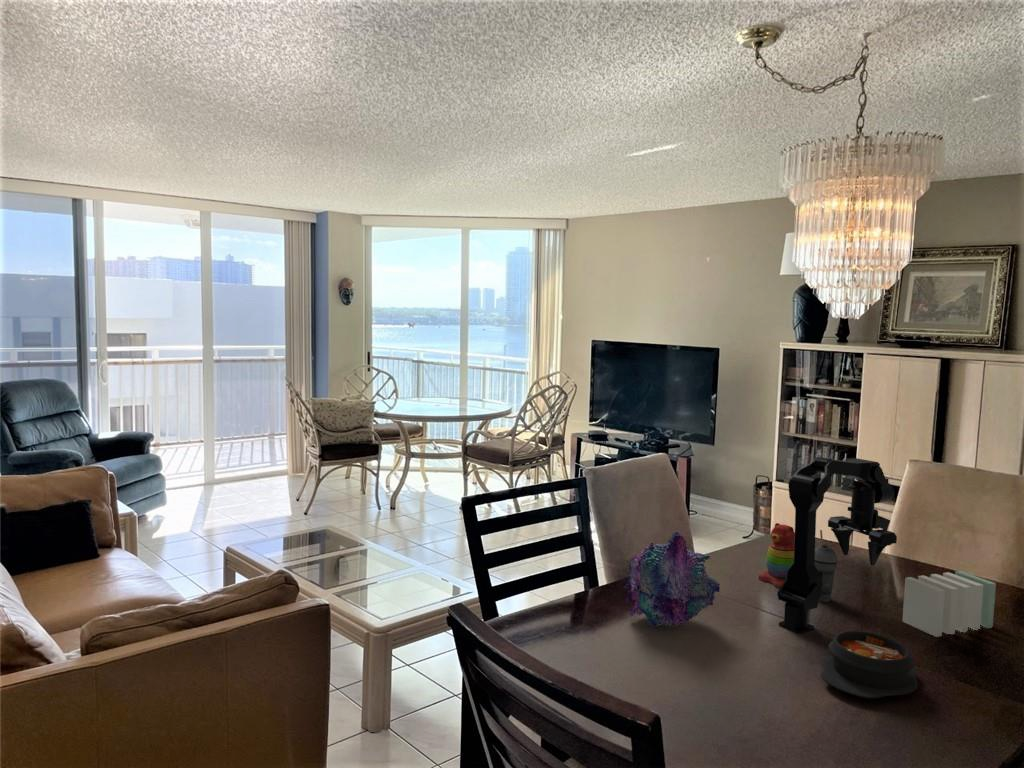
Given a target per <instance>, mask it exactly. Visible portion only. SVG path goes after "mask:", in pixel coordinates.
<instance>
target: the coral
mask: <svg viewBox="0 0 1024 768" xmlns="http://www.w3.org/2000/svg"><path fill="white" fill-rule="evenodd" d="M710 558H711V556H710V554H707V553H706V554H703V553H701V552H695V551H693V552H692V550H689V549H688V547H687V539H685V537H684V535H683V534H682V532H680V531H677V530H676V531H674V532H673V533H672V534H671V536H670V537H669V539H668V541H667V542H666V543H660V544H659V543H656V544H655V545H654V542H650V544H649V545H648V547H644V549H643V550H642V551H641V552H640V554H635V555H634V556H633V557H631V559H630V561H629V564H628V565H629V569H628V570H629V571H628V575H627V581H626V585H625V586H623V589H625V590H628V591H627V597H626V598H625V602H626V603H629V601H630V602H635V603H634V604H633V606H631V608H630V609H629V610H628V614H629V615H630V617H633V616H635V613H636V614H637V615H638V616H642V614H644V616H645V617H646V621H647V622H648V623H647V624H648V625H649V626H650V627H653V628H656V627H659V626H665V627H672V626H673V625H675V626H678V625H681V624H683V623H689V621H690V620H692V619H693V618H695V617H696V616H698V615H699V613H700V612H701V611H702V609H703V610H704V609H705V610H706V608H707V607H709V606H713V605H714V601H715V598H716V596H715V593H716V592H717V593H720V592H721V591H720V588H721V586H720V585H721V583H720V582H718V581H717V580H716V579H715V578H713V577H709V574H707V573H708V572H707V571H706V566H705V563H706V561H708V560H709V559H710ZM659 624H660V625H659Z"/></svg>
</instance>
